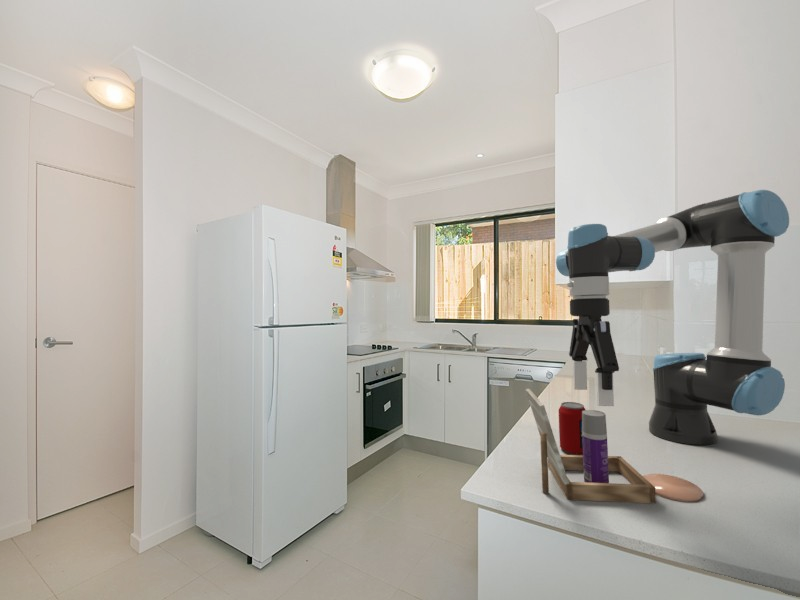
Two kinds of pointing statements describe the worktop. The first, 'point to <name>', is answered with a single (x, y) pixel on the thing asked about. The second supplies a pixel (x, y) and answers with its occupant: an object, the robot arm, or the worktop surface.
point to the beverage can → (571, 427)
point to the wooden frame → (558, 464)
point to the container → (595, 447)
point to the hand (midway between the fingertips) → (591, 397)
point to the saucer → (674, 488)
